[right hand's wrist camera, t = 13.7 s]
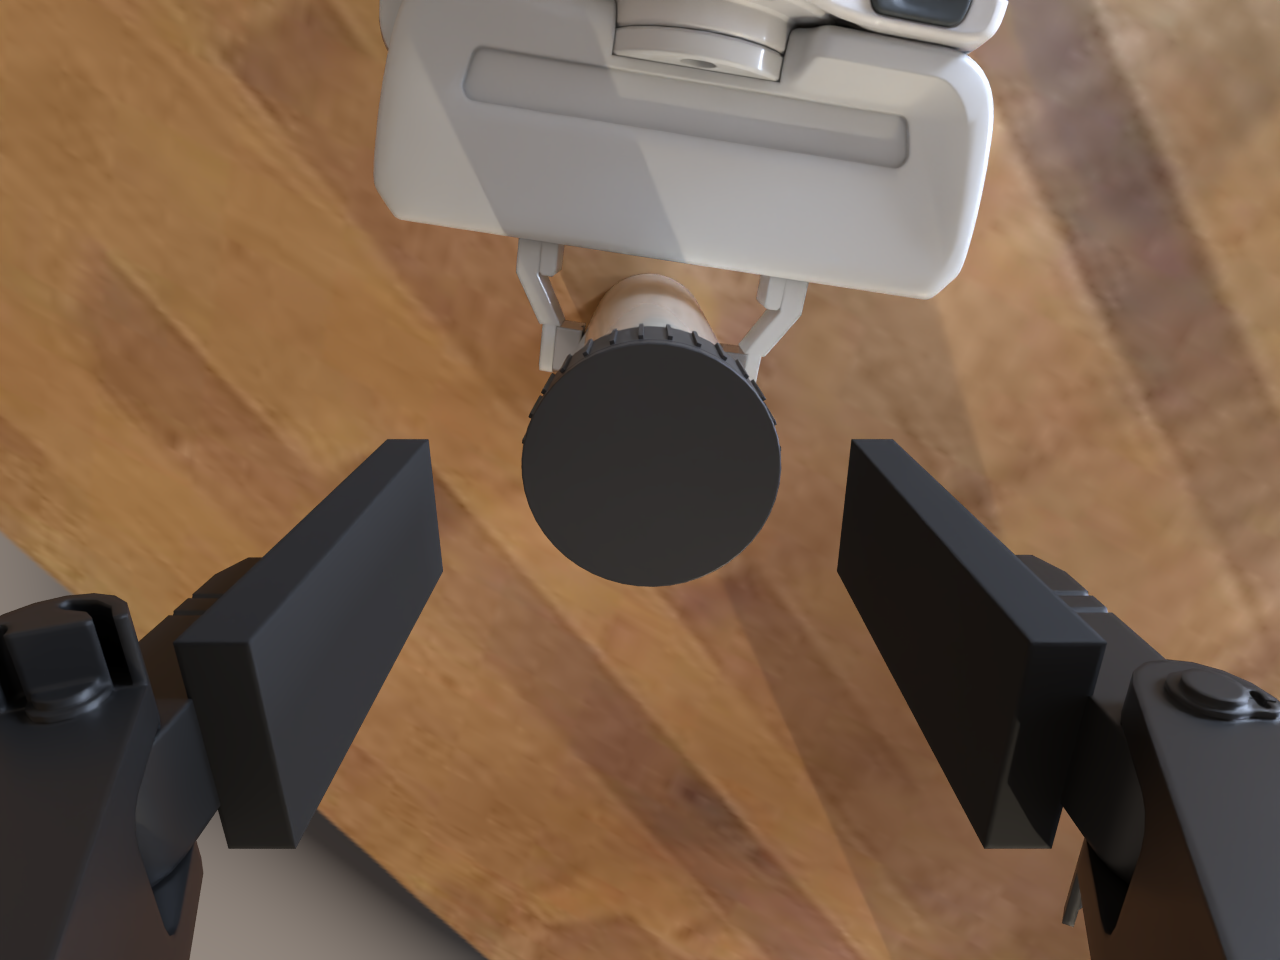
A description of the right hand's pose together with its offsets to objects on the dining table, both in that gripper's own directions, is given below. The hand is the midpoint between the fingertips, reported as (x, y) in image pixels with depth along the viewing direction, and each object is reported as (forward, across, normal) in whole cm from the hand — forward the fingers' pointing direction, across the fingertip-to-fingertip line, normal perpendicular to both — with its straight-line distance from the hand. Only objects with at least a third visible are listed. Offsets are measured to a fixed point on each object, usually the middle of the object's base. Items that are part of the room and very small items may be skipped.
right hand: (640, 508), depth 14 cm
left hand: (+15, 0, -1) cm, 15 cm away
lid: (+3, 0, 0) cm, 3 cm away
